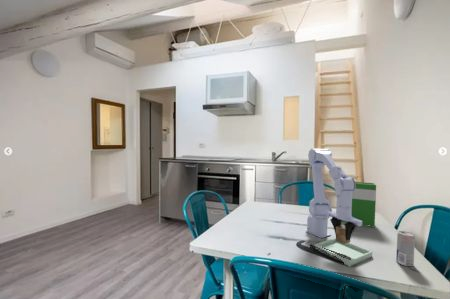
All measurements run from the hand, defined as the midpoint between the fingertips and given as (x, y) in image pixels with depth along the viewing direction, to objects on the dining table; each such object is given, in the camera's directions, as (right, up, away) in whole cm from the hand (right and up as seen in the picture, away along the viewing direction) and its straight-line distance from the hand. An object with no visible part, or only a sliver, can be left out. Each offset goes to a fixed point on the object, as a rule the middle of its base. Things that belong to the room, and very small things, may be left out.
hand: (342, 237), depth 96 cm
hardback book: (+28, -6, +39) cm, 48 cm away
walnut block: (0, -2, 0) cm, 2 cm away
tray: (0, -7, 0) cm, 7 cm away
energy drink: (+21, -8, -7) cm, 23 cm away
